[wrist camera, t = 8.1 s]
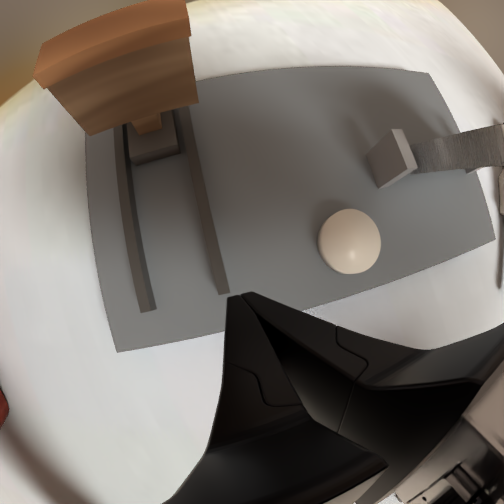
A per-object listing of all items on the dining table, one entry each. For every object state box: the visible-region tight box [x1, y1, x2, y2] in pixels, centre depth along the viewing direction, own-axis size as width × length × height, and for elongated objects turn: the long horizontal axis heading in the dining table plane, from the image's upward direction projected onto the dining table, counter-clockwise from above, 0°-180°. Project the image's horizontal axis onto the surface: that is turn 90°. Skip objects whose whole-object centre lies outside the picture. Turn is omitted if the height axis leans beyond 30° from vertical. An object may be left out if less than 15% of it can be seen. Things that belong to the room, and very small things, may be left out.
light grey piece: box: [410, 124, 504, 175], centre depth 12 cm, size 2×8×11 cm, turn 104°
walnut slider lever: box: [33, 0, 199, 166], centre depth 11 cm, size 4×6×9 cm, turn 104°
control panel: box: [85, 66, 496, 353], centre depth 16 cm, size 16×29×6 cm, turn 104°
